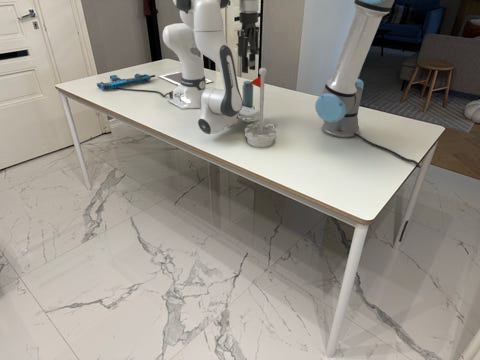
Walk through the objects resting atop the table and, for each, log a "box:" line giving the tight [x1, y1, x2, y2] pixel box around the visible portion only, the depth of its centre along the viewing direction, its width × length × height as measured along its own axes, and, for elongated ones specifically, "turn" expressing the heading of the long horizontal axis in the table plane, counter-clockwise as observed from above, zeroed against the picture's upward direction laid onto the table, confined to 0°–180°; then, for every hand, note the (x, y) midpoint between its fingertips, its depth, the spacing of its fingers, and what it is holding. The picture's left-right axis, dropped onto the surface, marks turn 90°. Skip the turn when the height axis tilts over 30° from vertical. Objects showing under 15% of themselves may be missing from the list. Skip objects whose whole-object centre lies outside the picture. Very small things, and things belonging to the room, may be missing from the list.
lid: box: [248, 58, 256, 68], centre depth 145 cm, size 5×5×2 cm
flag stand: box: [244, 67, 278, 148], centre depth 133 cm, size 13×13×30 cm
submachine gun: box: [96, 73, 156, 91], centre depth 208 cm, size 34×4×25 cm
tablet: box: [157, 70, 214, 86], centre depth 214 cm, size 32×20×1 cm, turn 41°
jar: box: [241, 80, 254, 123], centre depth 155 cm, size 5×5×18 cm
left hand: (248, 106), depth 157 cm, fingers closed on jar, 5 cm apart
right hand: (248, 70), depth 147 cm, fingers closed on lid, 5 cm apart
